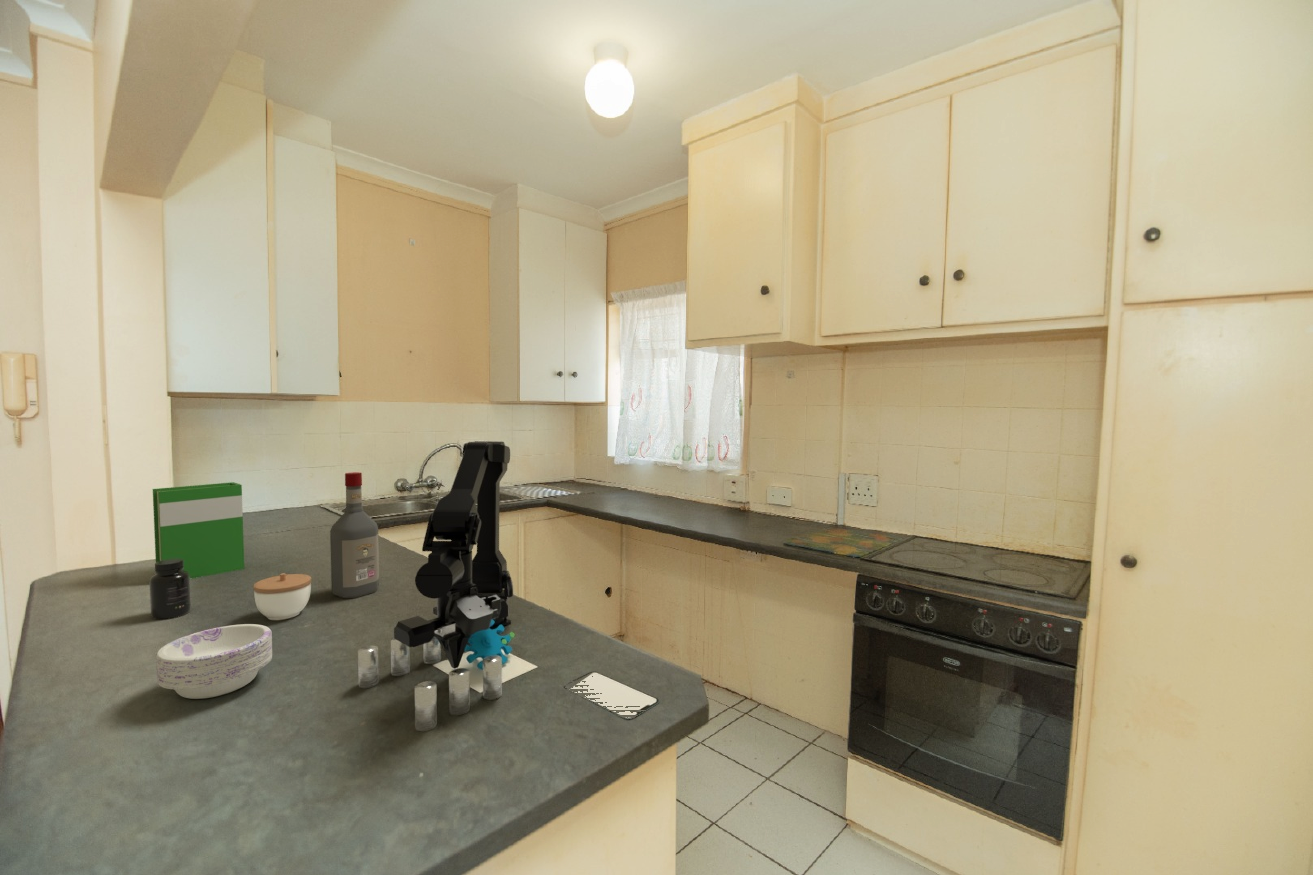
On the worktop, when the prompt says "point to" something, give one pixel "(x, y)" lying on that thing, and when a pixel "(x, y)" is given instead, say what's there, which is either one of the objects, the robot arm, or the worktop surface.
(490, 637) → the gear
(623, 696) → the smartphone
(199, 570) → the hardback book
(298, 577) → the lidded jar
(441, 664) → the pad
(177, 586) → the supplement bottle
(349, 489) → the liquor
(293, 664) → the worktop surface
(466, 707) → the posts
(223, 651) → the paper bowls
